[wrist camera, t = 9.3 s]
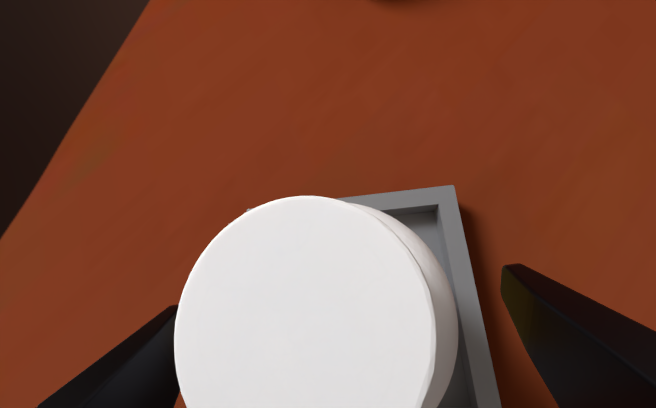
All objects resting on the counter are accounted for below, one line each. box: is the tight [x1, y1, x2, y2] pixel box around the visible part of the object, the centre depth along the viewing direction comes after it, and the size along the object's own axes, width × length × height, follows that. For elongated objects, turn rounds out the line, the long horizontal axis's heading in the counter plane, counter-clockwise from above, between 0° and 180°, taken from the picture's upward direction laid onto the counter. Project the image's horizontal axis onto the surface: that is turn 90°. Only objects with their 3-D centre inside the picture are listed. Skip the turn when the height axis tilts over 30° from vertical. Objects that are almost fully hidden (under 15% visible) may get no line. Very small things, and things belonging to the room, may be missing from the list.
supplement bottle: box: [174, 196, 458, 408], centre depth 11 cm, size 7×7×13 cm
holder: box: [247, 185, 502, 408], centre depth 17 cm, size 12×12×2 cm
